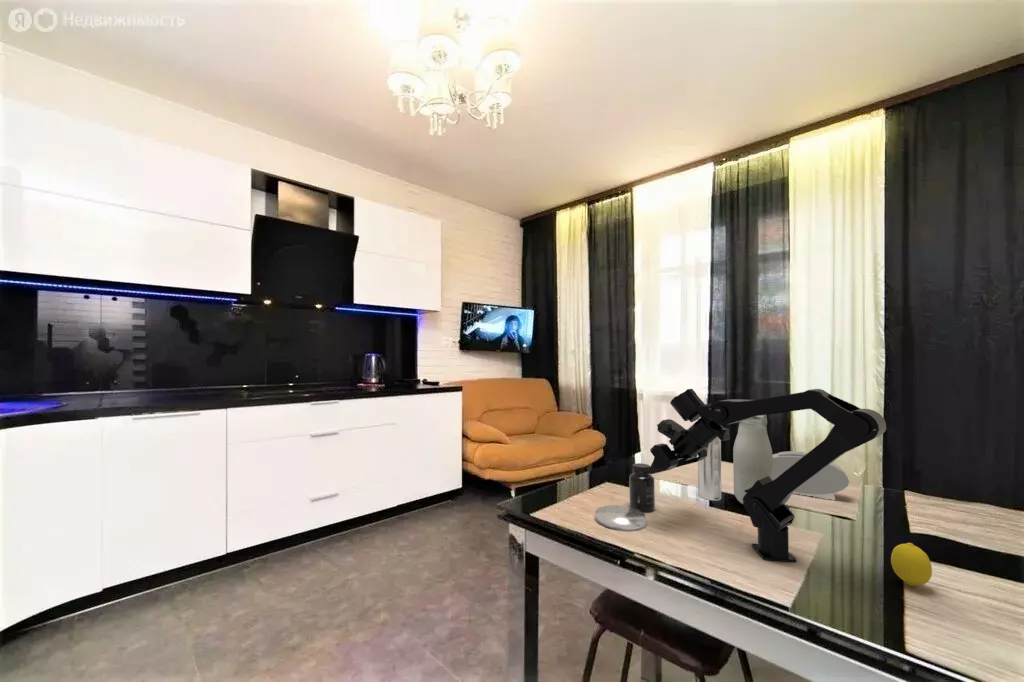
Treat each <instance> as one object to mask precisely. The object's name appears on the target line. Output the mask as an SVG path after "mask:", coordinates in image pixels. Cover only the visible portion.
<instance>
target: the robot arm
mask: <svg viewBox="0 0 1024 682" xmlns="http://www.w3.org/2000/svg"><path fill="white" fill-rule="evenodd" d="M669 403H670V405H671V407H672V408H673V409H674V410H675V411H676V413H677V414H678V415H679V417H680V418H681V419H682V420H683V421H684V422H688V421H689V422H690V423H693V422H694V423H693V424H692V425H691V426H690V427H689V428H687V429H686V428H684V426H682V425H681V424H679V423H678V422H676V421H675V420H674V419H670V418H669V419H663V420H661V421H659V423H658V424H656V426H657V432H658V433H660V434H662V436H663V435H664V436H665V437H666V438H668V439H669V440H668V443H670V444H671V445H670V446H672V448H673V450H672V449H671V448H670V447H669V444H667V443H663V442H662V443H658V444H654V445H652V447H651V448H650V450H649V452H651V454H652V456H653V460H652V463H651V465H650V468H649V470H648V472H649V473H650V475H654V474H658V473H663V472H666V471H667V472H668V471H670V470H672V469H675V468H679V467H683V466H686V465H690V464H694V463H698V461H700V460H703V459H704V458H705V457H707V450H706V448H708V444H710V443H711V442H712V441H713V440H714V439H715V438H717V437H718V438H719V439H720V440H721V442H723V441H724V442H725V441H728V440H730V439H731V436H730V435H731V434H730V428H726V427H724V426H727V425H732V424H736V423H739V422H740V421H744V420H747V419H750V418H753V417H755V416H760V415H766V416H767V415H773V414H782V413H788V412H795V411H796V412H797V411H803V410H812V411H813V412H814V413H816V414H818V415H819V416H821V417H822V418H823V419H824V420H826V421H827V422H828V423H830V424H832V425H833V426H832V428H831V430H830V431H829V433H828V434H827V436H826V437H825V439H823V441H821V442H820V443H818V444H817V445H816V446H815V447H814V448H812V449H811V450H809V452H806V453H807V454H806V455H805V456H804V457H802V458H801V459H800V460H799V461H797V462H796V463H795V464H794V465H792V466H791V467H790V468H789V469H787V470H786V471H785V472H784V473H782V474H781V475H780V476H779V477H777V478H776V479H775V480H773V481H772V480H771V478H770V477H769V476H767V477H764V478H762V479H760V480H757V481H756V482H755V484H754V485H753V486H752V487H751V488H749V489H747V490H745V492H746V493H747V494H745V496H744V497H743V504H742V505H743V508H744V509H745V511H746V513H747V514H748V515H749V518H750V521H751V524H752V526H753V527H754V528H757V543H751V548H753V550H754V551H756V553H757V554H759V556H760V557H761V558H762V559H764V560H767V561H779V562H780V561H781V562H782V561H783V562H793V563H796V562H797V558H796V557H795V556H794V555H793V554H791V552H789V551H790V546H789V545H790V543H789V542H790V541H789V540H790V539H789V538H790V537H789V527H788V526H789V525H792V524H793V522H794V520H795V517H796V516H795V514H794V513H793V512H792V511H791V509H790V508H789V507H788V506H787V505H786V503H787V502H788V501H789V500H790V498H791V496H792V495H793V494H792V493H793V492H794V491H795V490H796V489H798V488H799V487H800V486H802V485H803V484H804V483H806V482H807V481H808V480H810V479H811V478H812V477H814V476H815V475H816V474H818V473H819V472H820V471H822V470H823V469H824V468H826V467H827V466H828V465H830V464H831V463H834V462H835V461H836V460H838V459H839V458H840V457H841V456H843V455H845V454H846V453H847V452H849V451H852V450H853V449H855V448H858V447H860V446H863V445H864V444H867V443H869V442H870V441H873V440H874V439H877V438H879V437H881V436H883V434H884V433H885V432H886V431H887V424H886V423H887V422H886V419H885V417H884V416H882V414H880V413H879V412H877V411H875V409H870V408H861V407H858V406H856V405H855V404H852V403H851V402H848V401H846V400H844V399H842V398H839V397H837V396H835V395H832V394H831V393H829V392H827V390H824V389H820V388H811V389H808V390H805V391H802V392H795V393H789V394H783V395H778V396H771V397H765V398H764V397H763V398H758V399H744V398H743V399H737V398H736V399H723V400H722V399H721V400H716V401H713V402H712V403H705V402H703V400H702V399H701V398H700V397H699V395H698V394H697V392H695V390H694V389H693V388H687V389H686V390H685V391H683V392H681V393H680V394H677V395H676V396H674V397H672V398H671V401H670V402H669ZM700 417H701V418H700ZM699 418H700V419H699ZM697 419H699V420H697ZM698 456H699V457H698Z"/></svg>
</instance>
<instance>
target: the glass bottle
mask: <svg viewBox="0 0 1024 682" xmlns="http://www.w3.org/2000/svg"><path fill="white" fill-rule="evenodd" d="M767 417H768V416H767V415H760V416H755V417H753V418H750V419H747V420H744V421H740V422H738V429H737V434H736V437H735V440H734V444H733V447H732V448H733V449H732V451H733V453H732V457H733V458H732V459H733V461H732V465H733V472H732V473H733V494H734V496H735V498H736V500H737V501H738V502H739V503H740V504H742V505H743V497H744V496H745V494H747V493H746V492H745V490H747V489H749V488H751V487H752V486H753V485H754V484H755V482H756V481H757V480H760V479H762V478H764V477H767V476H769V477H770V478H771V480H772V465H773V456H772V455H773V450H772V449H773V448H772V446H771V442H770V439H769V435H768V429H767V425H768V418H767Z"/></svg>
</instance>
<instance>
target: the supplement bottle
mask: <svg viewBox="0 0 1024 682" xmlns="http://www.w3.org/2000/svg"><path fill="white" fill-rule="evenodd" d="M650 466H651V465H649V464H647V463H642V462H641V463H639V462H637V463H633V464H632V473H631V474H630V475H629V478H628V479H629V481H628V482H629V483H628V484H629V485H628V486H629V487H628V488H629V490H628V491H629V507H631V508H634V509H637V510H639V511H644V512H643V513H650V512H653V511H655V508H656V496H655V494H656V493H655V490H656V489H655V477H654V476H653V474H650V473H649V472H648V470H649V468H650ZM645 511H646V512H645ZM647 511H648V512H647ZM649 511H650V512H649Z"/></svg>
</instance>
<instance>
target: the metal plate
mask: <svg viewBox="0 0 1024 682" xmlns="http://www.w3.org/2000/svg"><path fill="white" fill-rule="evenodd" d="M647 518H648V517H647V515H646V514H645V512H641V511H639V510H637V509H634V508H631V507H630V506H625V505H616V504H615V505H613V504H612V505H604V506H600V507H598V508H597V509H595V511H594V520H595V522H596V523H598V524H599V525H601V526H602V527H605V528H607V529H610V530H615V531H620V530H622V531H623V532H634V531H635V532H636V531H640V530H642V529H644V528H646V526H647V523H648V522H647V521H648V520H647ZM622 531H621V532H622Z"/></svg>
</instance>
